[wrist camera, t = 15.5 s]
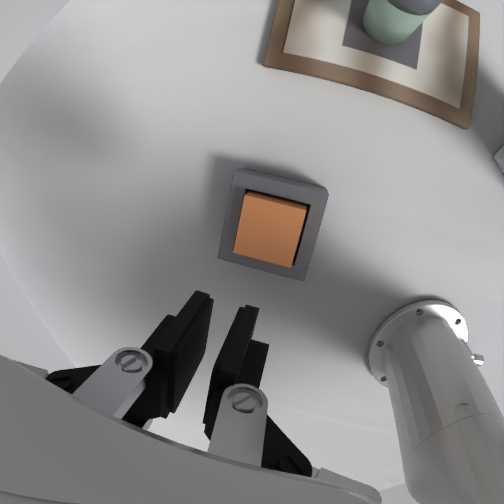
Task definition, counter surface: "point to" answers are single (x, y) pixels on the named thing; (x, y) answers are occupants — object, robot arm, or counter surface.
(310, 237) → the button housing
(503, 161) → the supplement box
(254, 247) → the button
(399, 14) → the cylinder
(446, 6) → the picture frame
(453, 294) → the counter surface
